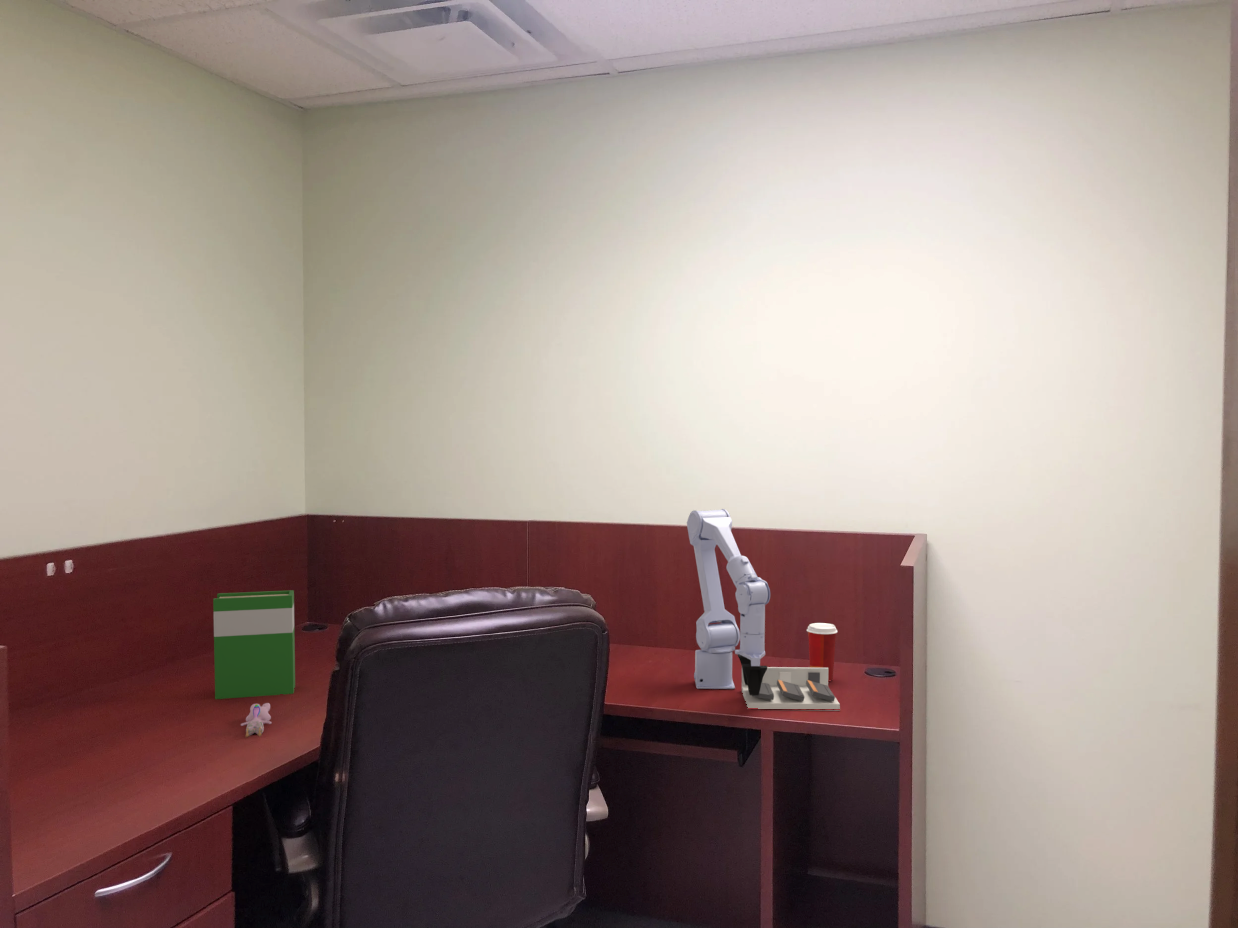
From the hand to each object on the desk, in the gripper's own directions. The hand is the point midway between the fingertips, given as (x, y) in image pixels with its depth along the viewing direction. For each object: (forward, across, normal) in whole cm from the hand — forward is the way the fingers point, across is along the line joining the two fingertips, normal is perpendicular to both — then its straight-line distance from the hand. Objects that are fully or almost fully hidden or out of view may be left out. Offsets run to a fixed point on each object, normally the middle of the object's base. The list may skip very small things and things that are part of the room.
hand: (751, 689), depth 228 cm
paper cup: (+3, -21, +20) cm, 29 cm away
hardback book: (+4, -5, -120) cm, 120 cm away
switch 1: (0, -1, +2) cm, 2 cm away
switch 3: (0, 0, +16) cm, 16 cm away
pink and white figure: (+4, +21, -109) cm, 111 cm away
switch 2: (0, 0, +9) cm, 9 cm away
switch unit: (+3, -2, +9) cm, 10 cm away
